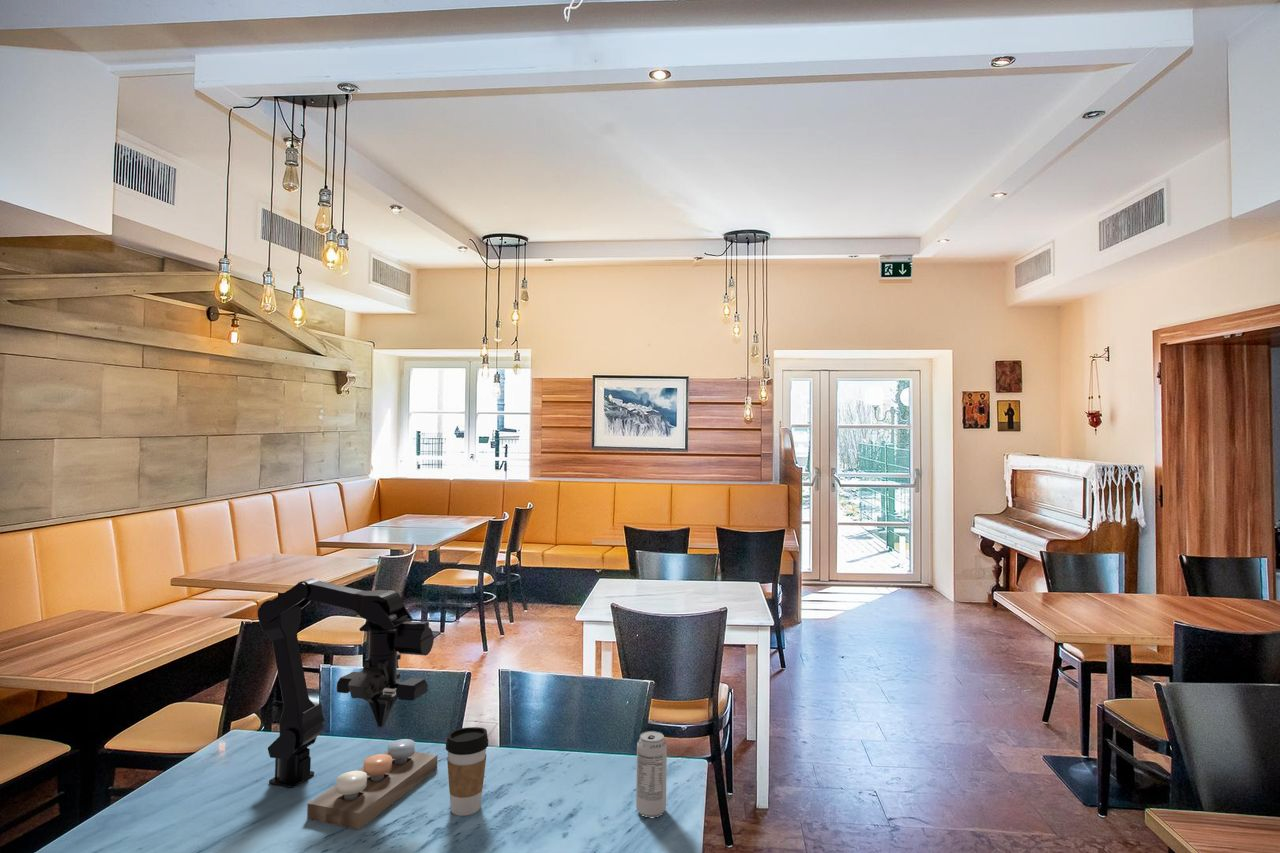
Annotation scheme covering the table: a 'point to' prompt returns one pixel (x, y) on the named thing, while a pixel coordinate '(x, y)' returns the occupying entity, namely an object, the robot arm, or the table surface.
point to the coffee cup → (466, 768)
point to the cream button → (351, 784)
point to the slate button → (401, 750)
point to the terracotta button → (377, 766)
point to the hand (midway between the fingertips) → (381, 726)
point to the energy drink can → (651, 774)
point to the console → (372, 794)
